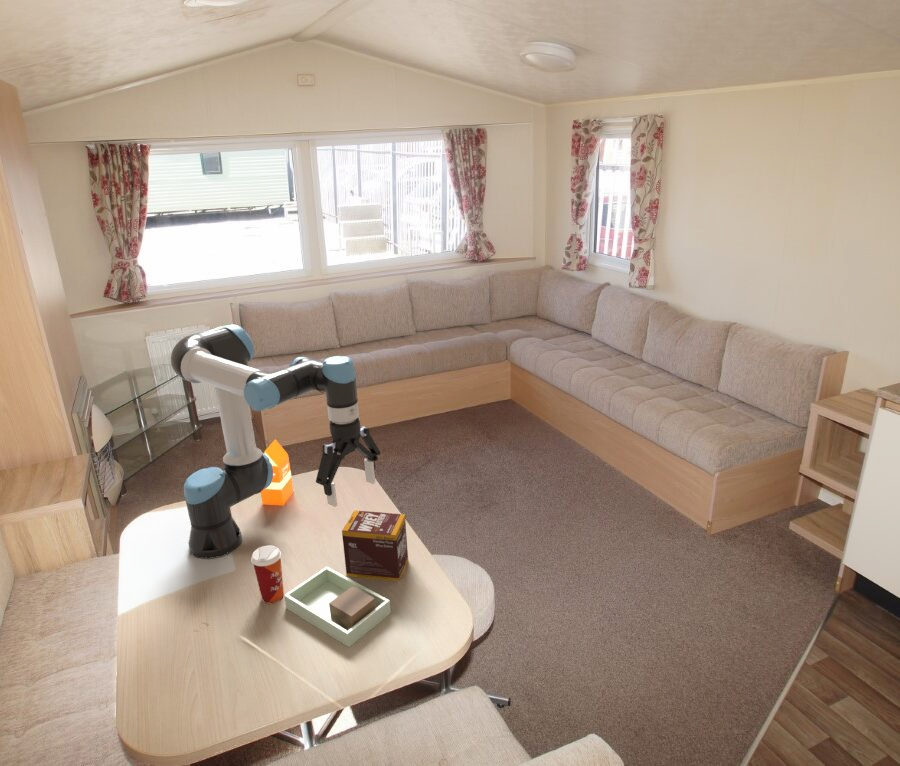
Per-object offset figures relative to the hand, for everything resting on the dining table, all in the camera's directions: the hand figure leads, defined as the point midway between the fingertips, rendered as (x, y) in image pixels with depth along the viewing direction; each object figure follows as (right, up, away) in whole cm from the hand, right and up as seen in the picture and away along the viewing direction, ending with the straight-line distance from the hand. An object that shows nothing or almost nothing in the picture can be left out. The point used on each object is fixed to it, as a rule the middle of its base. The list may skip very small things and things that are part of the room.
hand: (352, 493), depth 171 cm
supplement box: (+5, -24, +15) cm, 29 cm away
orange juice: (-33, -11, +53) cm, 64 cm away
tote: (-4, -31, -1) cm, 31 cm away
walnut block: (+1, -31, -5) cm, 32 cm away
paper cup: (-22, -29, +6) cm, 37 cm away
